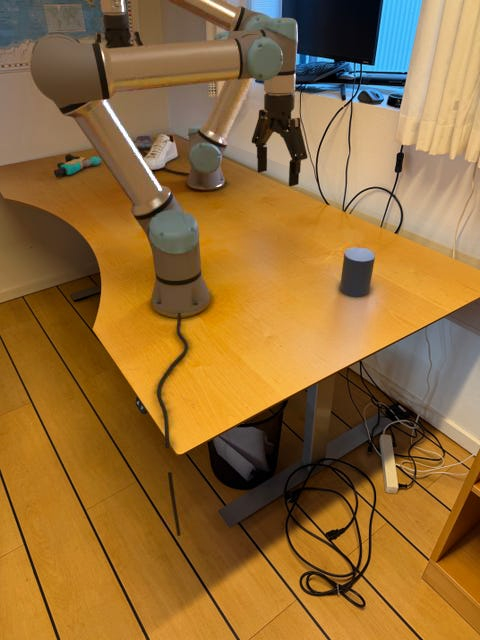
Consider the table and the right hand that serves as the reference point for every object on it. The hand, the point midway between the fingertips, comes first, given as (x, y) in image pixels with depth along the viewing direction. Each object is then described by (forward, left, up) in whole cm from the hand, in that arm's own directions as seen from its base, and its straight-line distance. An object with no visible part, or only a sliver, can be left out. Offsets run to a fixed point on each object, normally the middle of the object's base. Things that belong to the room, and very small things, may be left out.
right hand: (124, 88), depth 160 cm
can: (+91, +32, -39) cm, 104 cm away
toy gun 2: (-64, +27, -39) cm, 80 cm away
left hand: (+66, +21, -14) cm, 71 cm away
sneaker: (-37, +21, -39) cm, 58 cm away
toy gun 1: (-49, -16, -39) cm, 65 cm away
